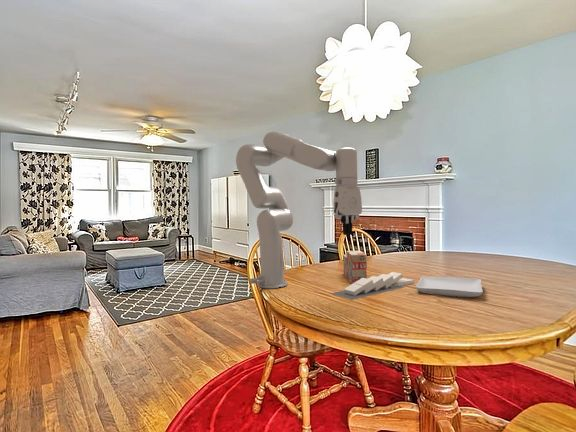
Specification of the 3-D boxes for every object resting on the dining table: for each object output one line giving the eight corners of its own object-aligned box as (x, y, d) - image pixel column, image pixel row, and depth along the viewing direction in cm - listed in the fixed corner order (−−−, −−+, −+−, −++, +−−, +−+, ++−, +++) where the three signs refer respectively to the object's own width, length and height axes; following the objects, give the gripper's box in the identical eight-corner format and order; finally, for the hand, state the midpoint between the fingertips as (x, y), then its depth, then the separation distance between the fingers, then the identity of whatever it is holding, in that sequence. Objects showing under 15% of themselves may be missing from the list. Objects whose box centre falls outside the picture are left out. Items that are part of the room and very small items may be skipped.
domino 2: (364, 289, 125) (382, 277, 130) (354, 286, 129) (372, 275, 134) (365, 293, 125) (383, 281, 130) (355, 290, 129) (373, 279, 135)
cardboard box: (343, 274, 164) (342, 248, 163) (356, 273, 164) (355, 247, 163) (352, 284, 142) (351, 254, 142) (367, 283, 142) (366, 254, 142)
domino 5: (398, 282, 134) (414, 280, 139) (387, 280, 138) (404, 278, 143) (397, 286, 134) (414, 284, 139) (387, 284, 138) (404, 282, 143)
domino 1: (353, 291, 122) (372, 279, 127) (343, 289, 126) (362, 277, 131) (354, 295, 122) (373, 283, 127) (345, 293, 126) (363, 281, 132)
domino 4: (385, 284, 131) (401, 273, 136) (375, 282, 135) (391, 271, 140) (386, 288, 131) (402, 277, 137) (376, 286, 136) (392, 275, 141)
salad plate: (415, 295, 123) (414, 286, 123) (422, 283, 142) (421, 275, 142) (483, 302, 113) (483, 291, 113) (481, 287, 132) (481, 278, 132)
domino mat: (352, 300, 117) (352, 299, 117) (330, 294, 127) (330, 293, 127) (405, 288, 133) (405, 286, 133) (382, 283, 142) (382, 282, 142)
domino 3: (375, 286, 128) (392, 275, 133) (365, 284, 132) (382, 273, 137) (376, 290, 128) (393, 279, 134) (366, 288, 133) (383, 277, 138)
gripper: (338, 182, 116) (339, 236, 116) (369, 183, 124) (370, 234, 125) (323, 183, 122) (324, 235, 123) (354, 184, 130) (355, 232, 131)
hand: (347, 234), depth 124 cm, fingers closed
